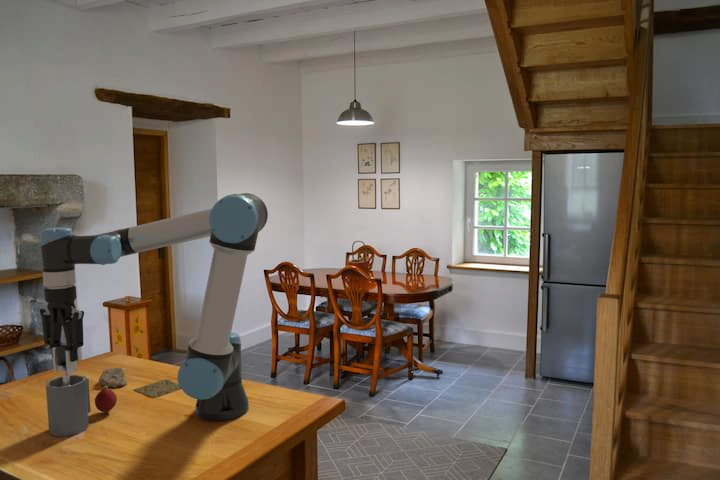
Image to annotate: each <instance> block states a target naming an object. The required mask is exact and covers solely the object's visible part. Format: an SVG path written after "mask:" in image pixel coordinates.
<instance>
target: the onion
mask: <svg viewBox="0 0 720 480" xmlns="http://www.w3.org/2000/svg"><path fill="white" fill-rule="evenodd" d="M117 401H118V397H117V394H116V393H115V392H114V391H113V390H112V389H109V386H105V385H103V388H102V389H101V390H100V391H99V392H98V393H97V394H96V395H95V398H94V405H95V407H96V409H97V410H98V411H100V412H102V413H105V414H108V413H109V412H111V410H113V409H114V408H115V406H116V405H117Z"/></svg>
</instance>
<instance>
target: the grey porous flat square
mask: <svg viewBox="0 0 720 480" xmlns="http://www.w3.org/2000/svg"><path fill="white" fill-rule="evenodd" d="M179 390H182V389H181V388H180V386H179V383H178V382H177V383H176V382H174V381H172V380H170V379H163V380H159V381H155V382H153V383H150V384H147V385H143V386H140V387H137V388H133V389H132V391H134V392H137V393H138V394H139V393H140V394H142V395H144V396H146V397H148V398H151V399H157V398H160V397H162V396H165V395H168V394H170V393H174V392H177V391H179Z"/></svg>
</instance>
